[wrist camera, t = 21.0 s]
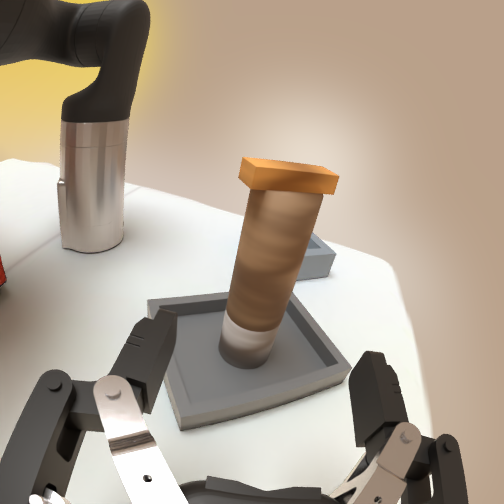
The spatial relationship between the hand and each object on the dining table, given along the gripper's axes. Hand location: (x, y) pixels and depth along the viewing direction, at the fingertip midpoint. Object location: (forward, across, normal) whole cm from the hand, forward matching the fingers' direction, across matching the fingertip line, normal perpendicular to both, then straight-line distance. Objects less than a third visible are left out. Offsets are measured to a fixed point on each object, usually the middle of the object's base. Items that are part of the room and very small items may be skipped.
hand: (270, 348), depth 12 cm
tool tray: (+11, 0, +13) cm, 17 cm away
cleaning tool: (+11, 0, +12) cm, 17 cm away
